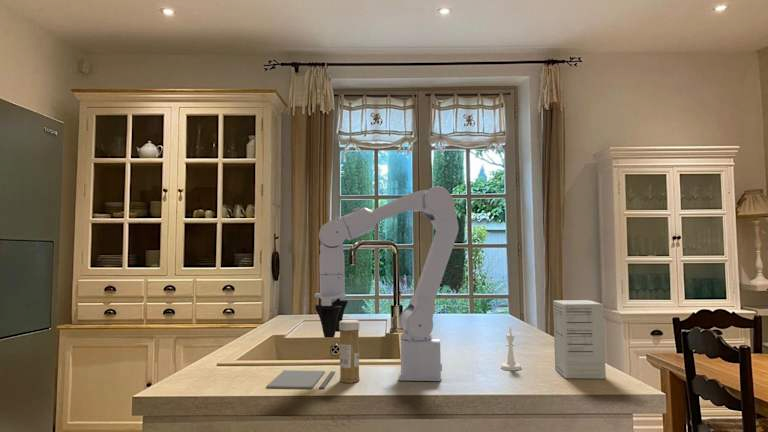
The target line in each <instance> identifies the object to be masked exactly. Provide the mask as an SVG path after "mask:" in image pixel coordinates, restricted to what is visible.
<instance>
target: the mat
mask: <svg viewBox="0 0 768 432" xmlns="http://www.w3.org/2000/svg"><path fill="white" fill-rule="evenodd" d="M325 372H326V371H325V370H294V369H293V370H290V369H289V370H288V369H287V370H282V371H281V373H279V374H278V375H277V376H276V377H275V378H273V380H271V381H270V382H269V383H268V384H267V385H266V386H265V388H266V389H297V390H298V389H300V390H301V389H304V390H307V389H308V390H309V389H310V390H313V389H314V387H315V386H316V384H317V383H318V382H319V381H320V380H321V378H322V377H323V376H324V374H326V373H325Z"/></svg>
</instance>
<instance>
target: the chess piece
mask: <svg viewBox="0 0 768 432" xmlns="http://www.w3.org/2000/svg"><path fill="white" fill-rule="evenodd" d="M508 331H509V333H507V334H506V336H505V337H506V339H507V343H506V345H505V346H507V347H508V353H507V359H506V360H505V362H503V363H501V365H500V368H501V370H505V371H520V370H521V369H522V365H521V364H520V363H517V362H516V360H515V357H514V348H513V347H515V346H516V344H515V343H513V342H514V338H515V334H513V333H512V327H511V326H509V330H508Z"/></svg>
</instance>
